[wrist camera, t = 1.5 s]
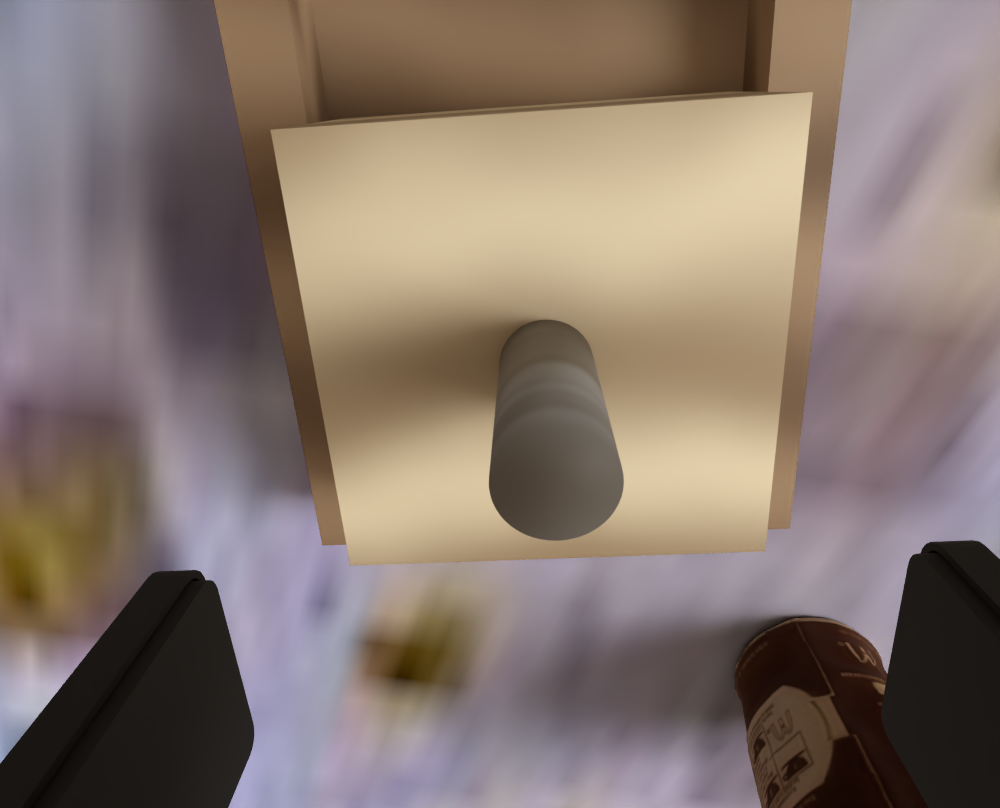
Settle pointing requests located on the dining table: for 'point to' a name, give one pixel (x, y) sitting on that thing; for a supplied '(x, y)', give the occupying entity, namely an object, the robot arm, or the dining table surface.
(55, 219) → the dining table surface
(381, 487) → the square knob plate
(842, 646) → the coffee cup
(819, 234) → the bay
